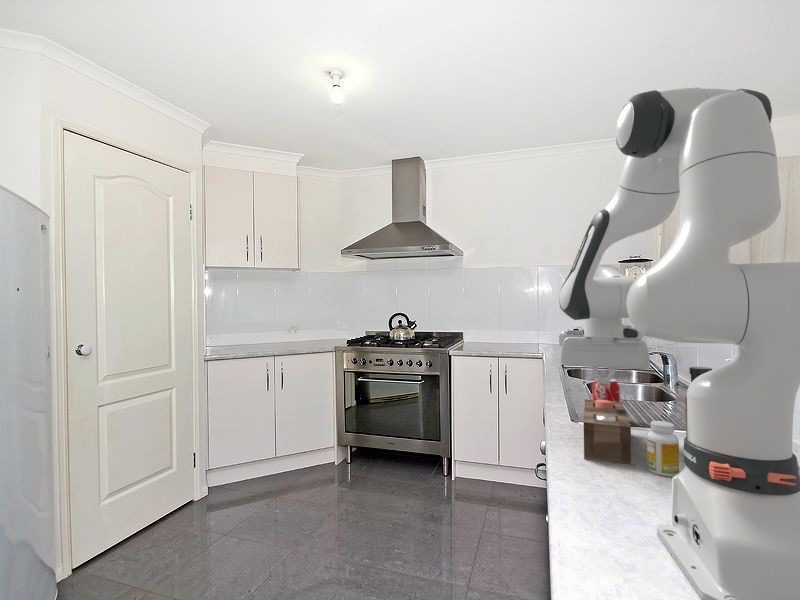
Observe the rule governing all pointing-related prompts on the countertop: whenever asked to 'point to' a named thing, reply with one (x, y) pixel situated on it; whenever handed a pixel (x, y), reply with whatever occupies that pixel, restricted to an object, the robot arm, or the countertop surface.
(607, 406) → the pink oval piece
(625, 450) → the plug block
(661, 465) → the supplement bottle
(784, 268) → the robot arm
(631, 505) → the countertop surface
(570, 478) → the countertop surface
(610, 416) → the steel plug
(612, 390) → the soda can
